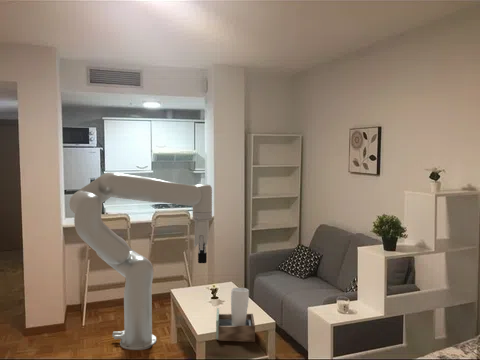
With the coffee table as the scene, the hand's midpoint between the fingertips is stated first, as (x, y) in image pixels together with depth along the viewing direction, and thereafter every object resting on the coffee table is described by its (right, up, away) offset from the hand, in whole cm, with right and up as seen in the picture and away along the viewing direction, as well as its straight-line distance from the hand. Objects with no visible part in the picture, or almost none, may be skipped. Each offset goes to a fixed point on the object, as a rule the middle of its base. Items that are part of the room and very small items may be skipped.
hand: (202, 262), depth 157 cm
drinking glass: (+14, -25, -3) cm, 29 cm away
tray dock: (+13, -27, -3) cm, 31 cm away
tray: (+12, -26, -3) cm, 29 cm away
